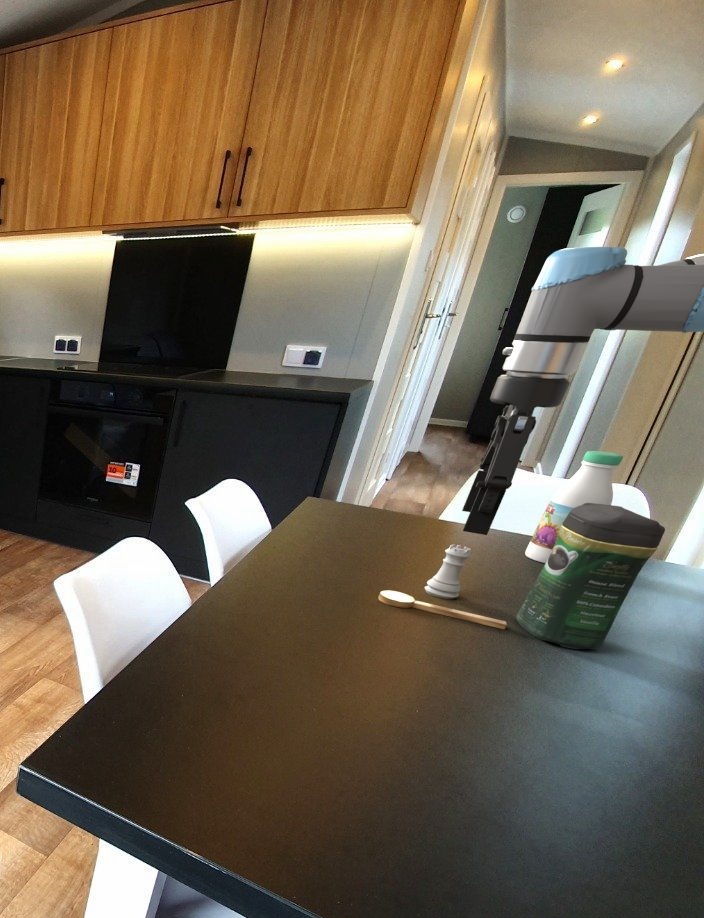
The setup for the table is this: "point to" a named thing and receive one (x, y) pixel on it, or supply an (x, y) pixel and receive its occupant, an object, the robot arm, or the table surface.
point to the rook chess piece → (449, 574)
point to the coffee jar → (588, 575)
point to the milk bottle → (574, 499)
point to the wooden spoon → (436, 609)
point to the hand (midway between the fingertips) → (473, 522)
